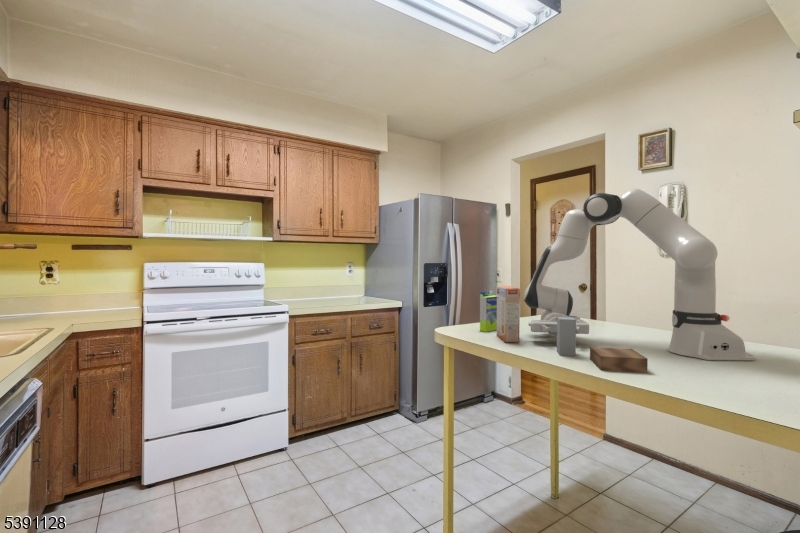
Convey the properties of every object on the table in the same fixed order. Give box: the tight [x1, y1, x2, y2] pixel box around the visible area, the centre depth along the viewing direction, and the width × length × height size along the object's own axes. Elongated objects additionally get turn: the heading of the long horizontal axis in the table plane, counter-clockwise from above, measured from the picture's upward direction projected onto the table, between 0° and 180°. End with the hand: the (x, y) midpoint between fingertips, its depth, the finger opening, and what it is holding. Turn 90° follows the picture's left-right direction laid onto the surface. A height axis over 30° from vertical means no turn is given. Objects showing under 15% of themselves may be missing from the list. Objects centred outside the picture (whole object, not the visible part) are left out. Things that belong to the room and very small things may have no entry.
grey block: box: [556, 317, 577, 357], centre depth 129 cm, size 5×5×12 cm
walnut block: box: [589, 346, 648, 374], centre depth 114 cm, size 12×12×4 cm
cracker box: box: [495, 285, 521, 344], centre depth 152 cm, size 14×6×21 cm, turn 179°
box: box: [479, 290, 497, 333], centre depth 171 cm, size 10×4×17 cm, turn 132°
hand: (562, 330), depth 136 cm, fingers open, 8 cm apart
